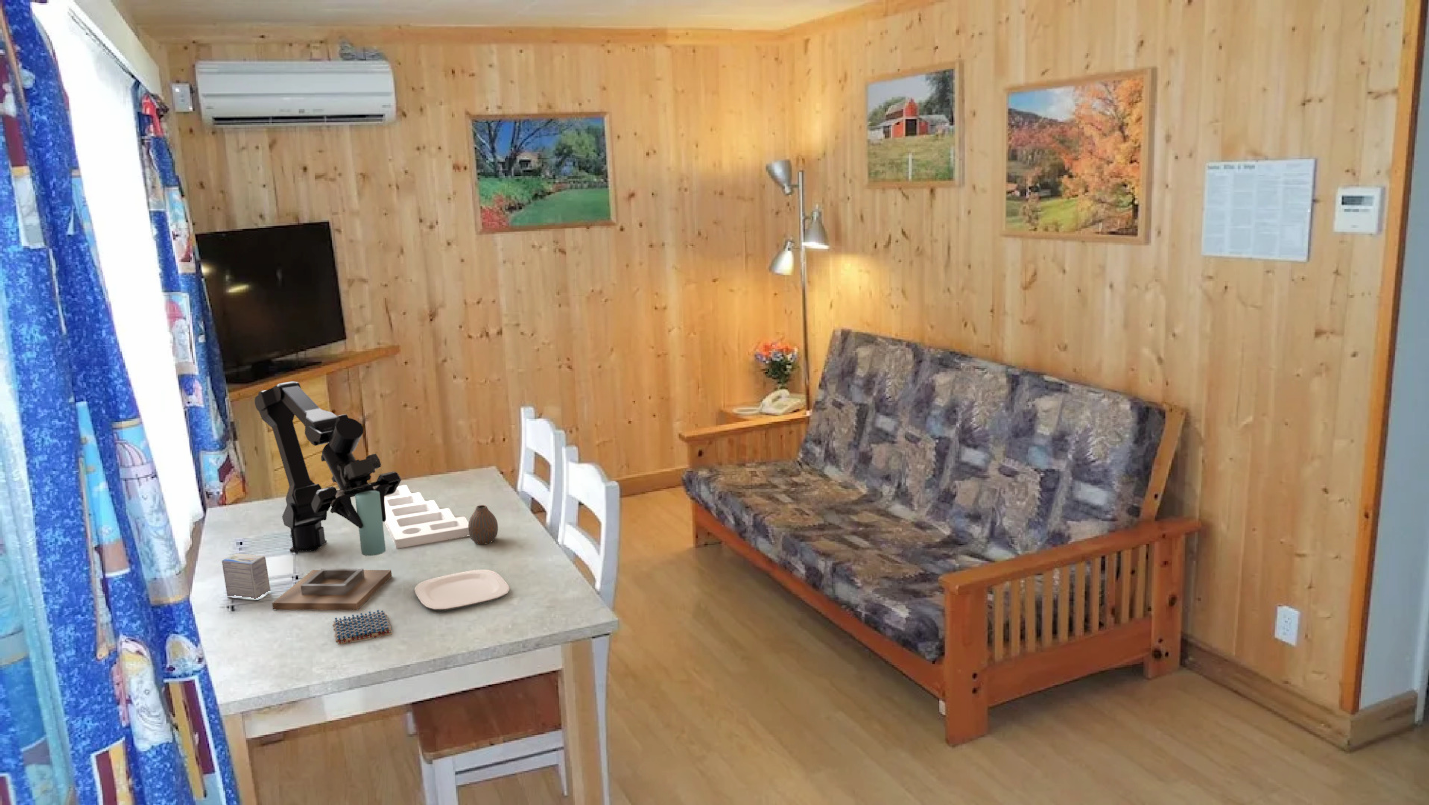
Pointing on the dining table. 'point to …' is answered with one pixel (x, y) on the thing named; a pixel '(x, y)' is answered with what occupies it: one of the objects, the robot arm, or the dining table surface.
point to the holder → (420, 520)
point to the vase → (482, 525)
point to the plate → (461, 589)
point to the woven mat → (361, 627)
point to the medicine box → (246, 575)
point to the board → (333, 589)
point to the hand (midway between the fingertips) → (373, 524)
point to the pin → (370, 523)
